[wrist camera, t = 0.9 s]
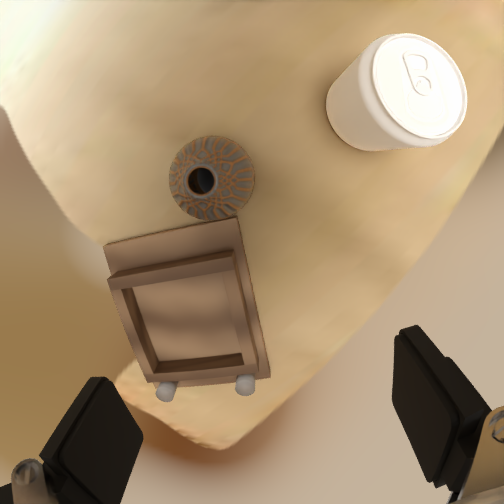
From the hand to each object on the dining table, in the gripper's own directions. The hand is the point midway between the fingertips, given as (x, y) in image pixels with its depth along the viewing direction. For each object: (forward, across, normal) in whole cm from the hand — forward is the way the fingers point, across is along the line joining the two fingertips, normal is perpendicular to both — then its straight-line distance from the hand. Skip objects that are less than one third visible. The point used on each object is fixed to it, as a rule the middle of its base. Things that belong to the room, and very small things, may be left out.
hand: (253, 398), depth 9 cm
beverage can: (+22, -13, -10) cm, 27 cm away
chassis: (+22, +9, +7) cm, 24 cm away
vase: (+22, +2, -6) cm, 23 cm away
